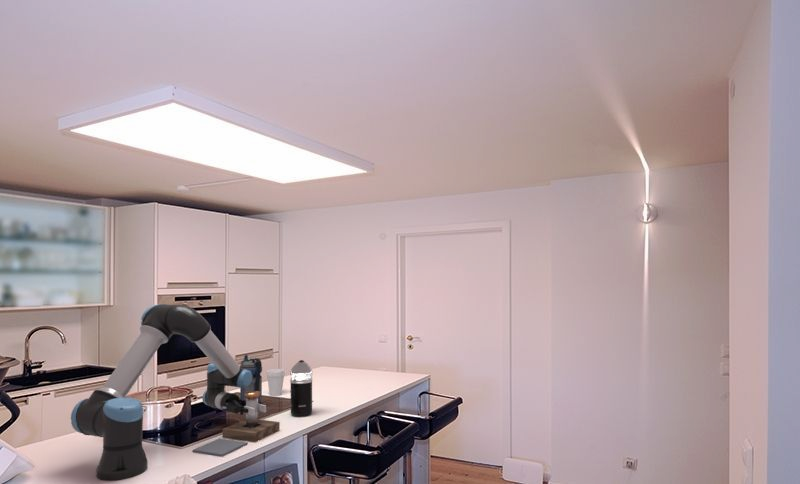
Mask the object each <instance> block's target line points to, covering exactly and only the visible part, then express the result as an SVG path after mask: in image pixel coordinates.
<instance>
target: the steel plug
mask: <svg viewBox="0 0 800 484" xmlns="http://www.w3.org/2000/svg"><path fill="white" fill-rule="evenodd" d="M259 396H260V392H259V391H248V392H245V397H246V406H248V407H252V408H255V415H254V416H253V415H249V414H246V413H245V420H246V427H247V428H254V427H257V426H258V419H259V411H258V397H259Z"/></svg>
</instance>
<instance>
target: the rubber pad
mask: <svg viewBox="0 0 800 484" xmlns="http://www.w3.org/2000/svg"><path fill="white" fill-rule="evenodd" d="M248 443H249V441H242V440H235V439H228V438H220V437H219V438H217V439H215V440H212V441H210V442H208V443H205V444H203V445H200V446H197V447H196V448H194V449H192V453H195V454H196V453H197V454H202V455H203V454H204V455H209V456H216V457H221V456H222V457H223V458H224V457H225V456H226V455H230V453H233V452H235V451H237V450H239V449H241V447H242V448H243V446H244V447H246V446H248V445H249V444H248ZM247 444H248V445H247Z"/></svg>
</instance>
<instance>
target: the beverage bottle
mask: <svg viewBox="0 0 800 484" xmlns="http://www.w3.org/2000/svg"><path fill="white" fill-rule="evenodd" d="M239 366H240V367H241V368H242V369H243V370H244V369H246V370H249V371H250V372H251V373H252V382H251V383H250V385H249V386H248V387H240V388H239V389H240V391H239V393H240V395H239V398H240V399H242V400H246V397H245V392H248V391H259V392H260V396H259V397H258V401H260V402H261V404H262V403H263V402H262V401H263V400H262V397H263V396H262V393H263V391H262V390H263V389H262V388H263V387H262V386H263V385H262V383H263V382H262V380H263V379H262V378H263V377H262V375H261V373H262V372H263V366H262V360H261V359H260V358H258V357H254V358H250V359H248V355H247V354H245V355H244V356H243V360H241V361H240V365H239ZM262 405H263V404H262Z"/></svg>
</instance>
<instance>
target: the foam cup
mask: <svg viewBox="0 0 800 484" xmlns="http://www.w3.org/2000/svg"><path fill="white" fill-rule="evenodd" d="M266 378H267V384H268V392H269V396H270V397H279V396H282V393H283V387H284V378H285V369H283V368H271V369H268V370H266Z"/></svg>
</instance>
